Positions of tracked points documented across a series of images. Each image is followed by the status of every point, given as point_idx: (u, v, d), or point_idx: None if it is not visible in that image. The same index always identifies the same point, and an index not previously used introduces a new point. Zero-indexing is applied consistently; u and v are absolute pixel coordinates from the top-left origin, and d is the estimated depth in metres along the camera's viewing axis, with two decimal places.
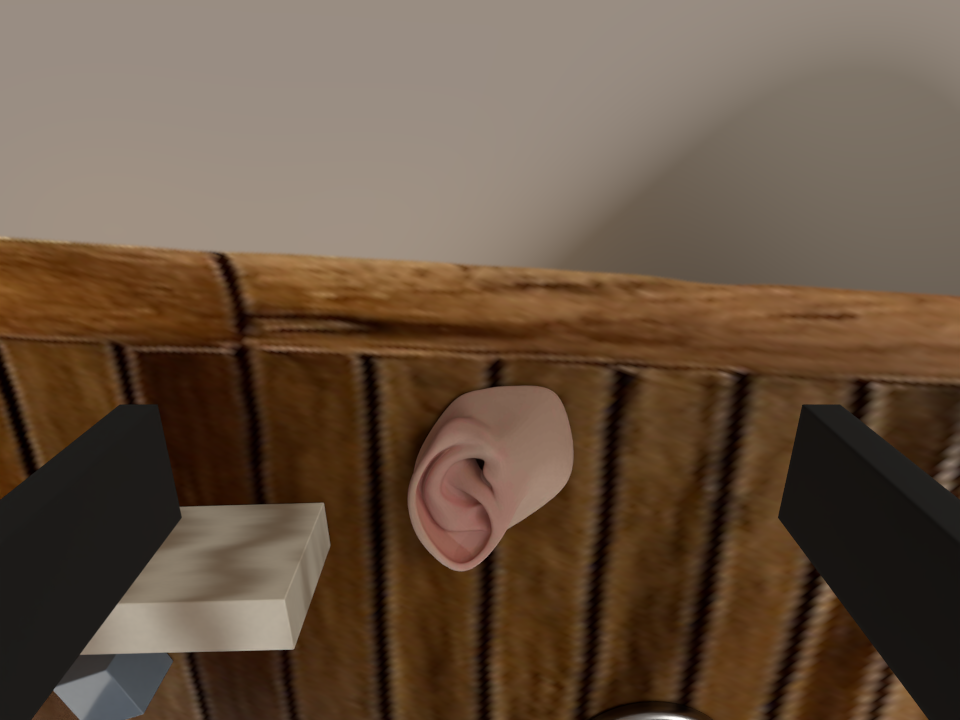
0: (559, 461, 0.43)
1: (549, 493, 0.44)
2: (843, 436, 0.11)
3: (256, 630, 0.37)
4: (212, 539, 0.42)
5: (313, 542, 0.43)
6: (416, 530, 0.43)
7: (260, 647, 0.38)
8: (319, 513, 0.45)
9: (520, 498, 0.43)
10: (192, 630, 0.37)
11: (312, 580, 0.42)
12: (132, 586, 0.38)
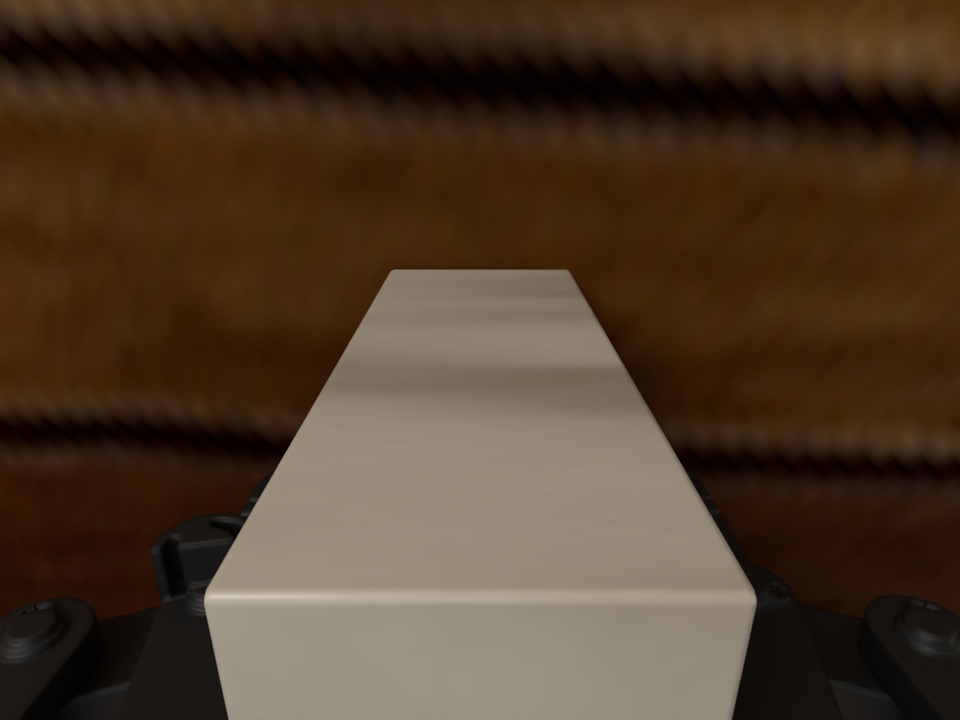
0: None
1: None
2: None
3: None
4: None
5: (408, 320, 0.10)
6: None
7: None
8: (382, 286, 0.12)
9: None
10: None
11: (545, 347, 0.09)
12: None
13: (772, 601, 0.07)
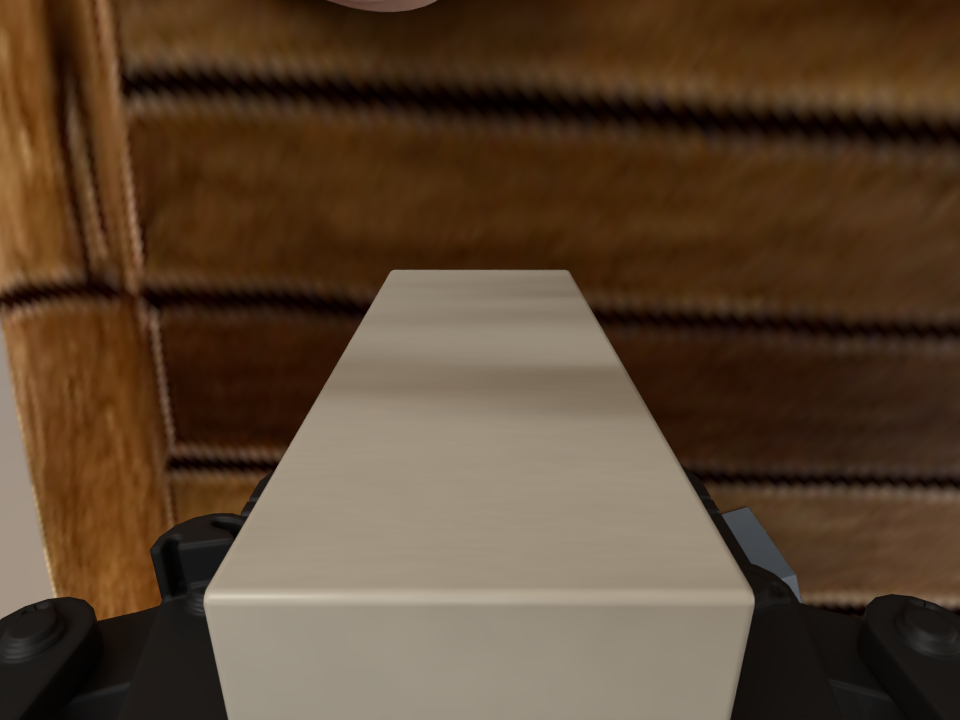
0: None
1: None
2: None
3: None
4: None
5: (408, 320, 0.10)
6: None
7: None
8: (382, 287, 0.12)
9: None
10: None
11: (545, 348, 0.09)
12: None
13: (772, 601, 0.07)
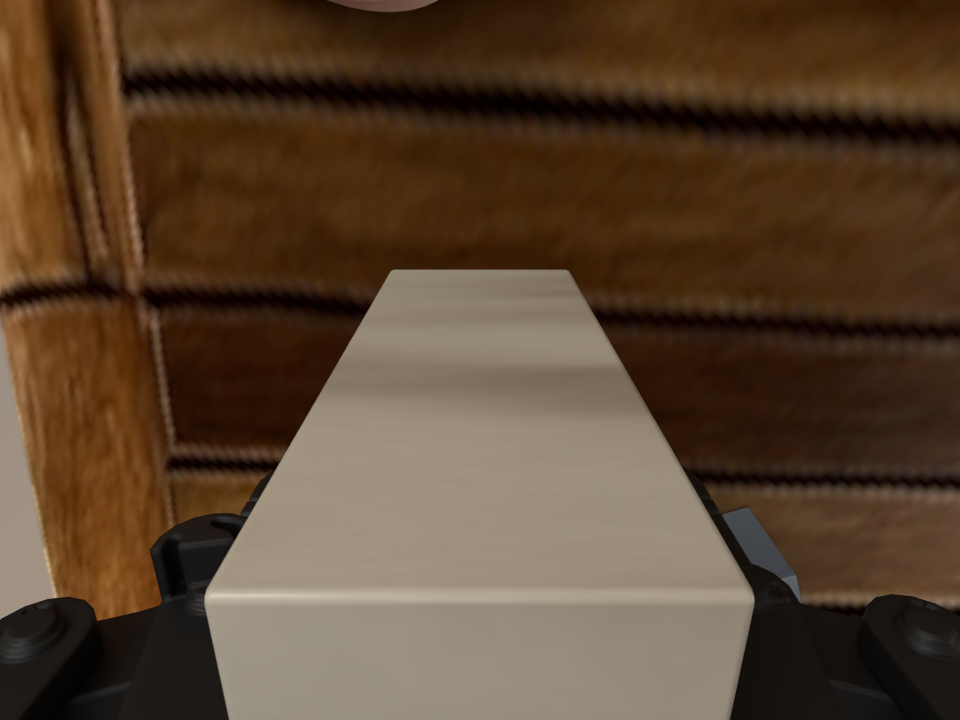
0: None
1: None
2: None
3: None
4: None
5: (407, 319, 0.10)
6: None
7: None
8: (382, 286, 0.12)
9: None
10: None
11: (545, 347, 0.09)
12: None
13: (771, 602, 0.07)
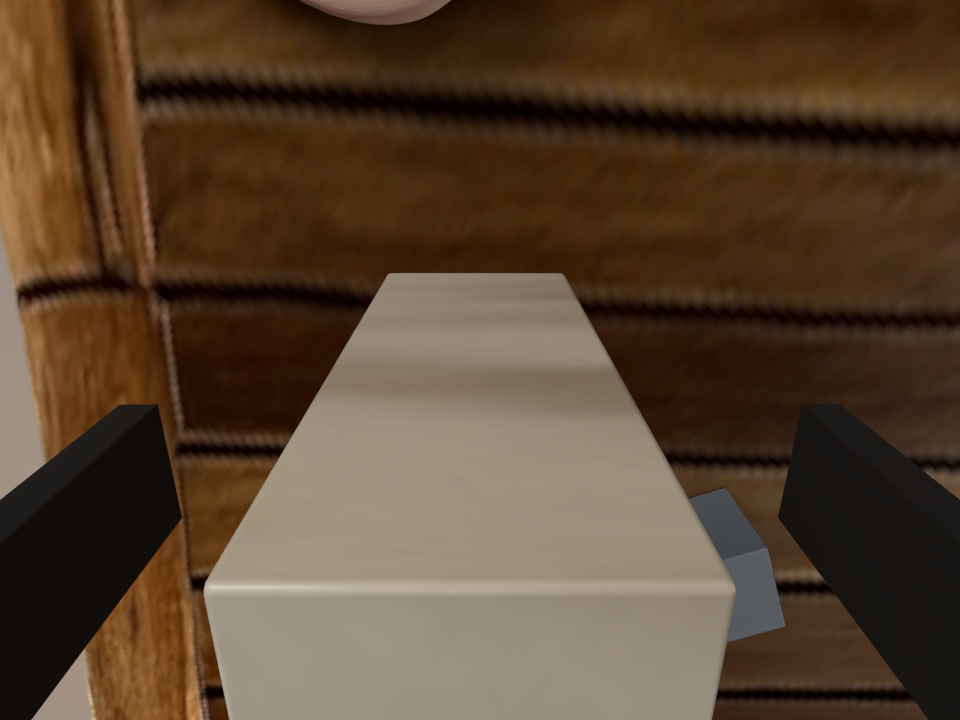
0: None
1: None
2: (844, 436, 0.11)
3: None
4: None
5: (404, 322, 0.10)
6: None
7: None
8: None
9: None
10: None
11: (539, 349, 0.09)
12: None
13: None
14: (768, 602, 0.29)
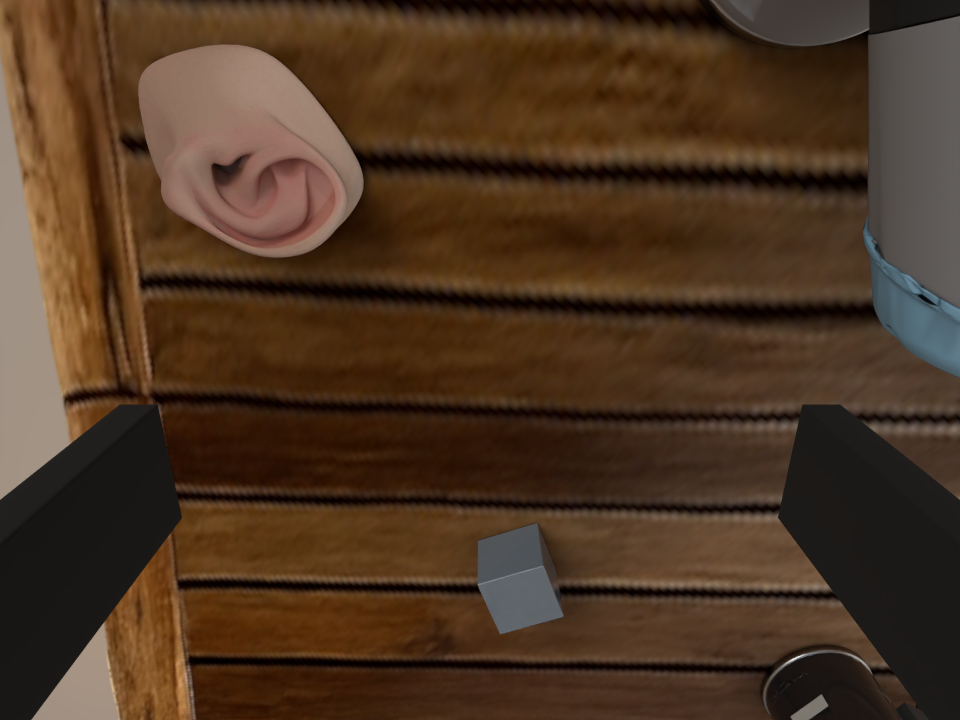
0: (223, 64, 0.35)
1: (275, 77, 0.35)
2: (843, 436, 0.11)
3: None
4: None
5: None
6: (301, 250, 0.37)
7: None
8: None
9: (260, 118, 0.35)
10: None
11: None
12: None
13: None
14: (549, 600, 0.44)
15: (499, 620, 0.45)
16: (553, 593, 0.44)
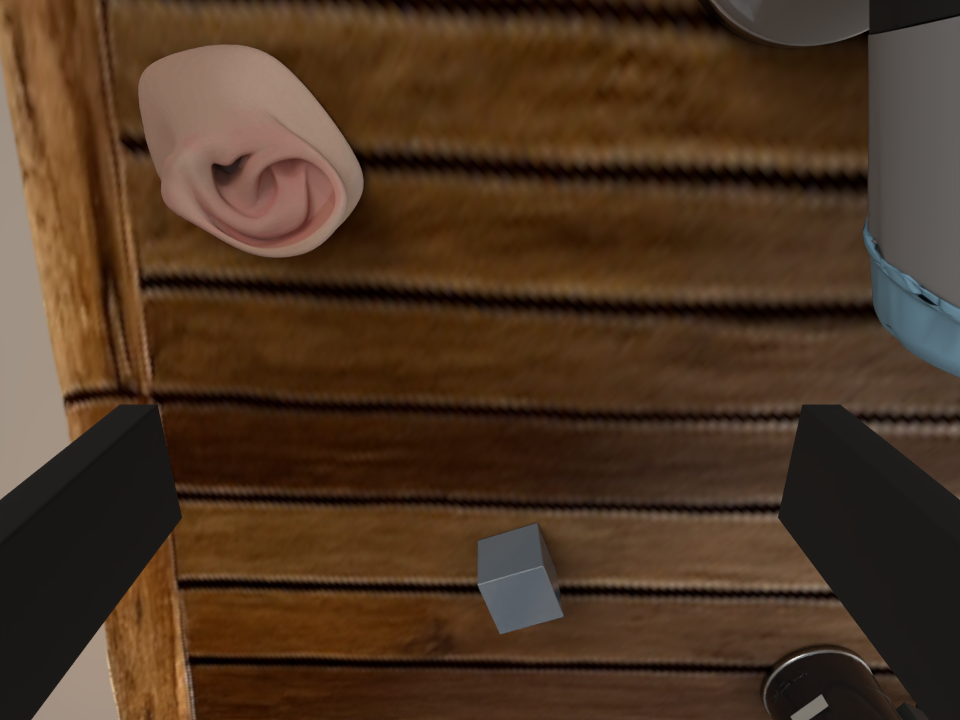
0: (223, 64, 0.35)
1: (275, 77, 0.35)
2: (843, 436, 0.11)
3: None
4: None
5: None
6: (301, 250, 0.37)
7: None
8: None
9: (260, 118, 0.35)
10: None
11: None
12: None
13: None
14: (549, 600, 0.44)
15: (499, 620, 0.45)
16: (553, 593, 0.44)
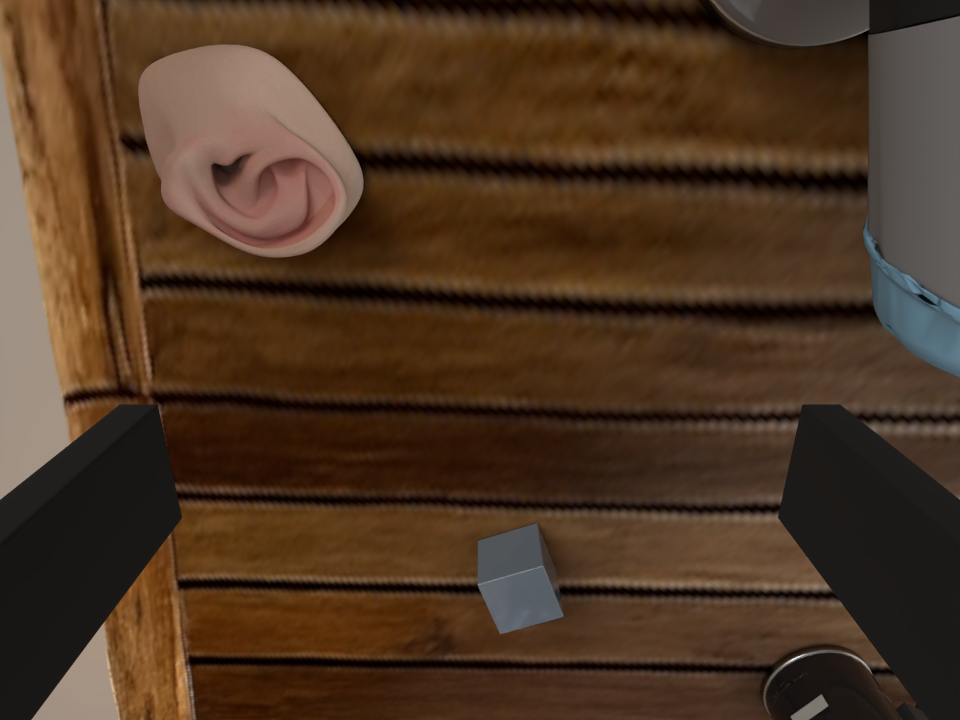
0: (223, 64, 0.35)
1: (275, 77, 0.35)
2: (843, 436, 0.11)
3: None
4: None
5: None
6: (301, 250, 0.37)
7: None
8: None
9: (260, 118, 0.35)
10: None
11: None
12: None
13: None
14: (549, 600, 0.44)
15: (499, 620, 0.45)
16: (553, 593, 0.44)
